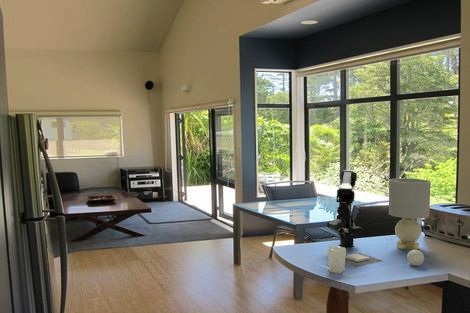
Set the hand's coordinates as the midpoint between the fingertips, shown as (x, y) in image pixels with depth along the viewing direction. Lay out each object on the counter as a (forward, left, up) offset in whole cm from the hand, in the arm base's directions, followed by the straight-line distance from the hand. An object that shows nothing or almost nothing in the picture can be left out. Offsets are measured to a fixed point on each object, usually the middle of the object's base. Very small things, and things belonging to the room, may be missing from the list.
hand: (344, 244), depth 235 cm
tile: (+5, 0, -4) cm, 7 cm away
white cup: (+17, -20, -6) cm, 27 cm away
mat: (+10, 0, -5) cm, 11 cm away
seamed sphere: (+28, +16, -6) cm, 32 cm away
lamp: (+5, +41, -6) cm, 41 cm away
